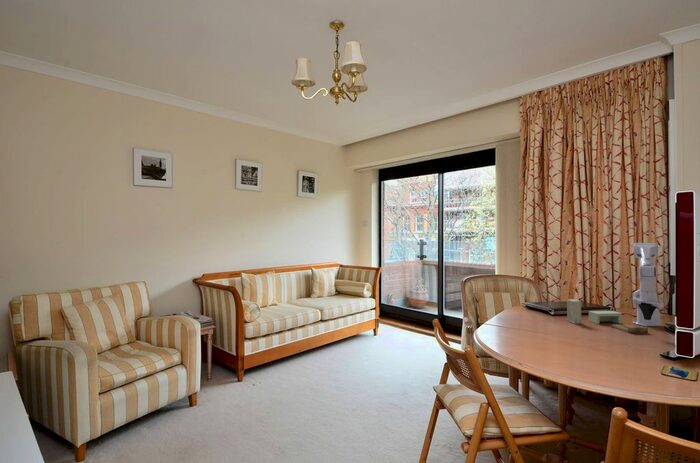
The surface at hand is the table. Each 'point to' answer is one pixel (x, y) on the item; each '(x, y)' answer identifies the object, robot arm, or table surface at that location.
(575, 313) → the skincare box
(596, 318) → the shelf
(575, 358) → the table surface
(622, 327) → the board
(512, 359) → the table surface
